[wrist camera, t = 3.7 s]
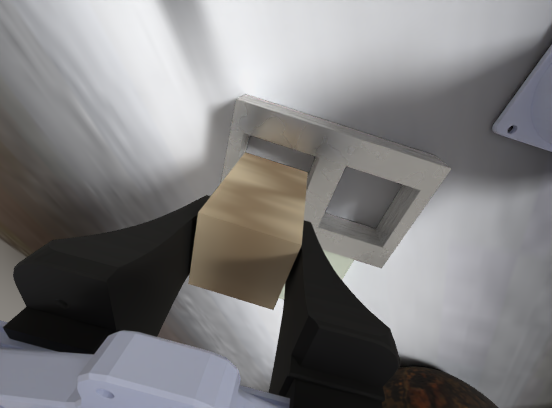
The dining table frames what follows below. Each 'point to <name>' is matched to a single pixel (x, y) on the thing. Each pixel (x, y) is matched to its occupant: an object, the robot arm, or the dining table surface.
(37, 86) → the dining table surface
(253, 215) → the maple peg
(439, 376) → the glass bottle
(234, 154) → the white flat frame
